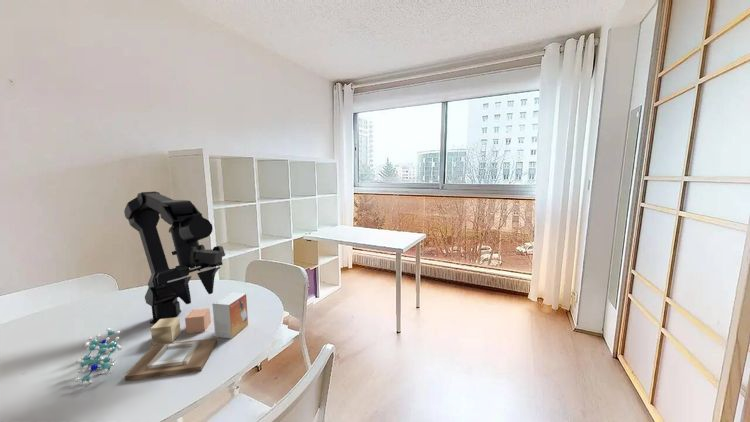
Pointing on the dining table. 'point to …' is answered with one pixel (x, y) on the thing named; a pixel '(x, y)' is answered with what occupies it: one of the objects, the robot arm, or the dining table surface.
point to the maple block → (165, 330)
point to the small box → (230, 315)
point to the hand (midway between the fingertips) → (200, 298)
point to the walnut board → (173, 359)
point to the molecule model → (98, 356)
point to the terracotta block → (198, 320)
